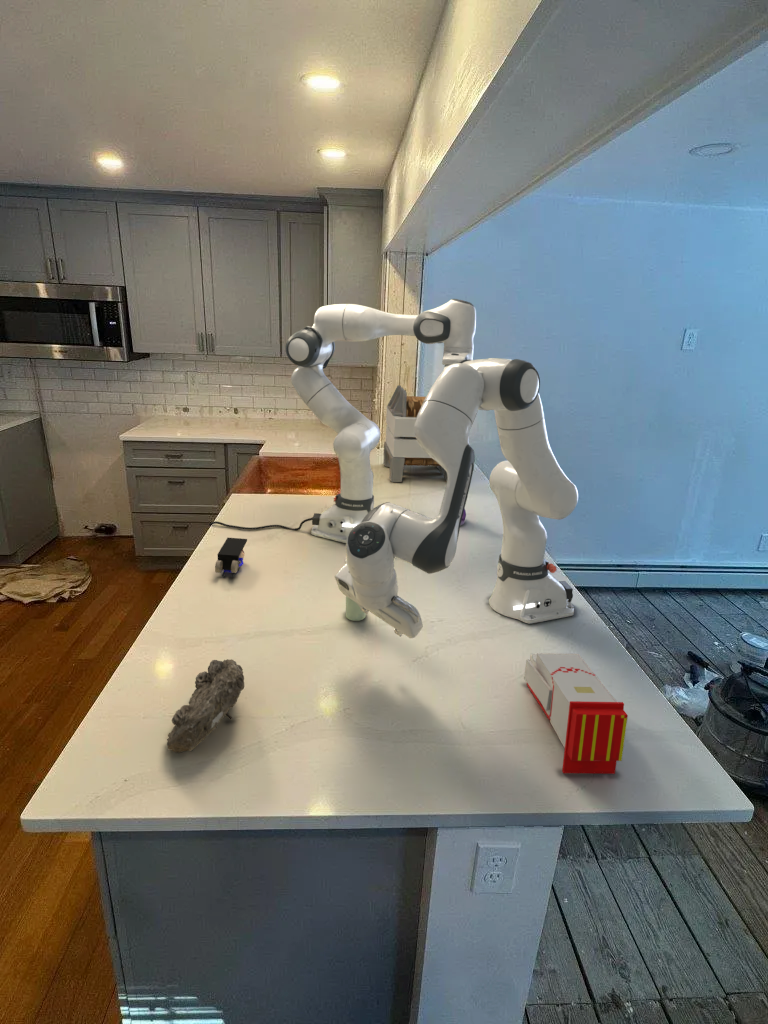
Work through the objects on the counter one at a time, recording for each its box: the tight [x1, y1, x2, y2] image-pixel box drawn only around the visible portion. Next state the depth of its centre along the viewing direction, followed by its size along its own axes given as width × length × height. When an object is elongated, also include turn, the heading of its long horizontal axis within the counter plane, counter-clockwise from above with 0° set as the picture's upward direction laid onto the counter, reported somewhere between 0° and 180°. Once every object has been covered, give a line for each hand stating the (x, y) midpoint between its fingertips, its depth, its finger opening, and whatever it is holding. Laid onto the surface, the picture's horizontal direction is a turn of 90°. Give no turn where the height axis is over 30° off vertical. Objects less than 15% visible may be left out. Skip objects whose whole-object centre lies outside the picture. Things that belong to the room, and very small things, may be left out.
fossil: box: [166, 658, 245, 754], centre depth 106 cm, size 22×10×15 cm
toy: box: [523, 652, 628, 775], centre depth 110 cm, size 12×13×30 cm
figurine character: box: [214, 537, 248, 578], centre depth 166 cm, size 7×8×15 cm
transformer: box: [383, 384, 448, 483], centre depth 268 cm, size 34×33×41 cm
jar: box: [345, 596, 367, 622], centre depth 143 cm, size 5×5×15 cm
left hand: (454, 403), depth 174 cm, fingers open, 8 cm apart
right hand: (382, 621), depth 123 cm, fingers open, 8 cm apart
